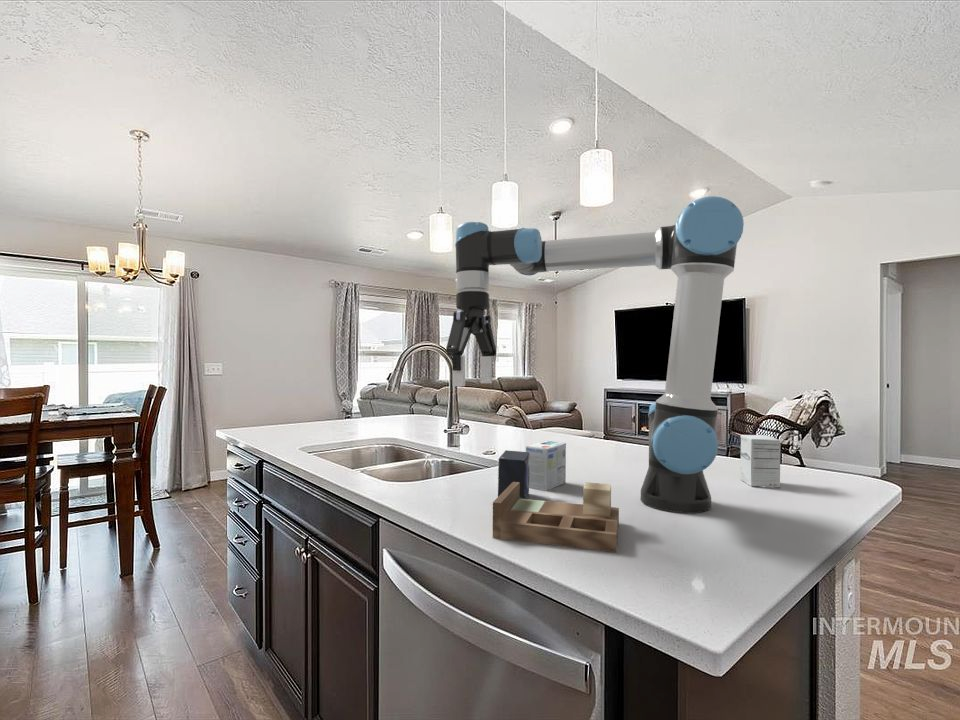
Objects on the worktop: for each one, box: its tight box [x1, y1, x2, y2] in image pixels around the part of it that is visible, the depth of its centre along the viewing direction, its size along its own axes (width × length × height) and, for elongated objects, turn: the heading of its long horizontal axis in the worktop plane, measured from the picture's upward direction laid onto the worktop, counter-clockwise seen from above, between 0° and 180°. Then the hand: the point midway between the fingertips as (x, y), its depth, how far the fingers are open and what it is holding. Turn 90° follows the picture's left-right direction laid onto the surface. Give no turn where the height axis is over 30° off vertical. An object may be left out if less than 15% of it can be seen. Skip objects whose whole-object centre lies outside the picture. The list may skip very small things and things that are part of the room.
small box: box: [497, 450, 530, 499], centre depth 116 cm, size 11×6×10 cm, turn 168°
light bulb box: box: [525, 440, 567, 492], centre depth 129 cm, size 11×7×11 cm, turn 144°
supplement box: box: [739, 434, 781, 488], centre depth 131 cm, size 7×7×13 cm
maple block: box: [582, 481, 612, 517], centre depth 97 cm, size 5×5×5 cm
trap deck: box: [492, 482, 620, 553], centre depth 95 cm, size 22×16×6 cm
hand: (473, 384), depth 113 cm, fingers open, 13 cm apart
